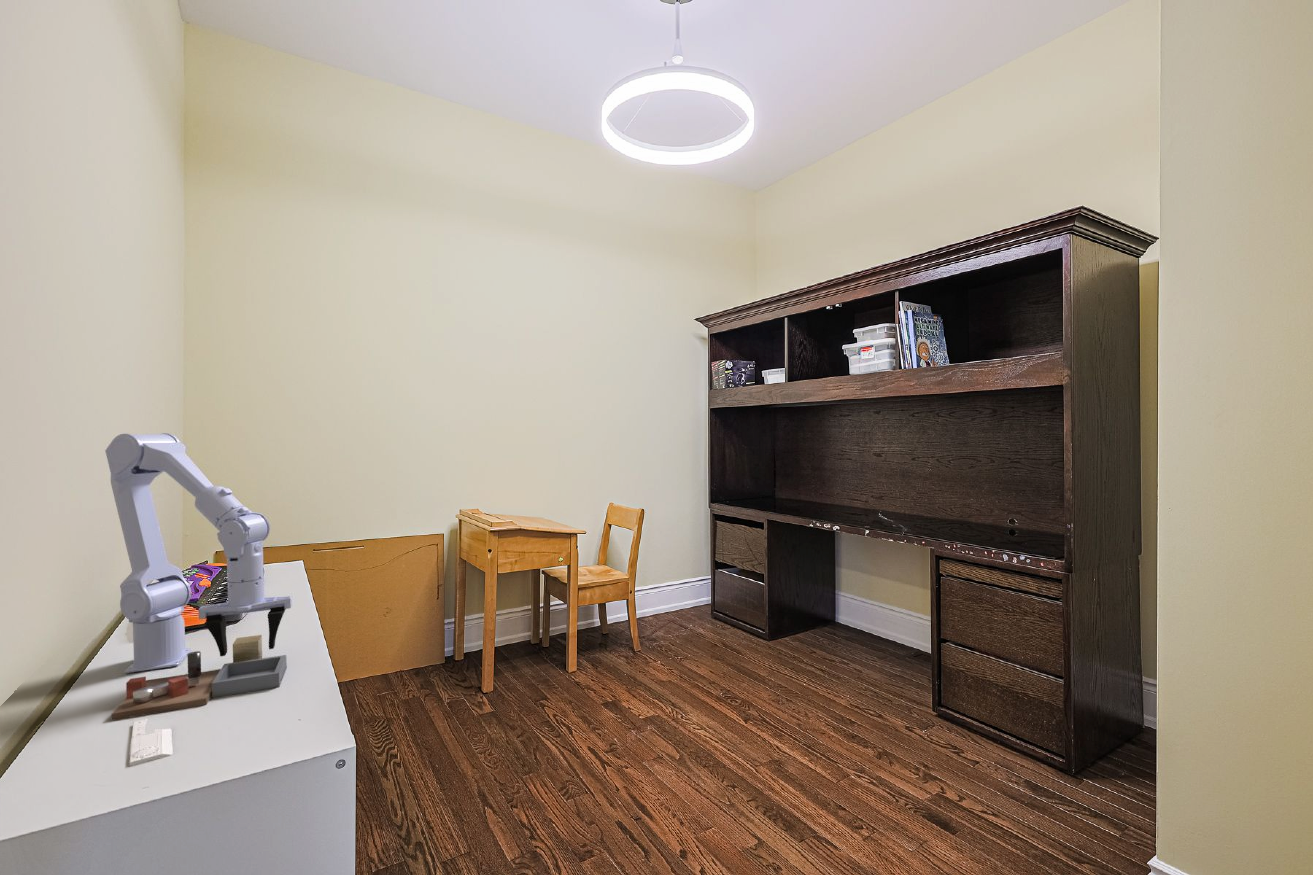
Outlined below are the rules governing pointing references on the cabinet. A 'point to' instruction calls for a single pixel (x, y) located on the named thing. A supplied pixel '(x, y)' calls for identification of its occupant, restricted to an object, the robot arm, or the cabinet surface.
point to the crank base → (167, 695)
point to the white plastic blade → (149, 744)
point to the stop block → (247, 648)
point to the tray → (249, 676)
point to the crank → (151, 692)
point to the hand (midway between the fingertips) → (248, 650)
